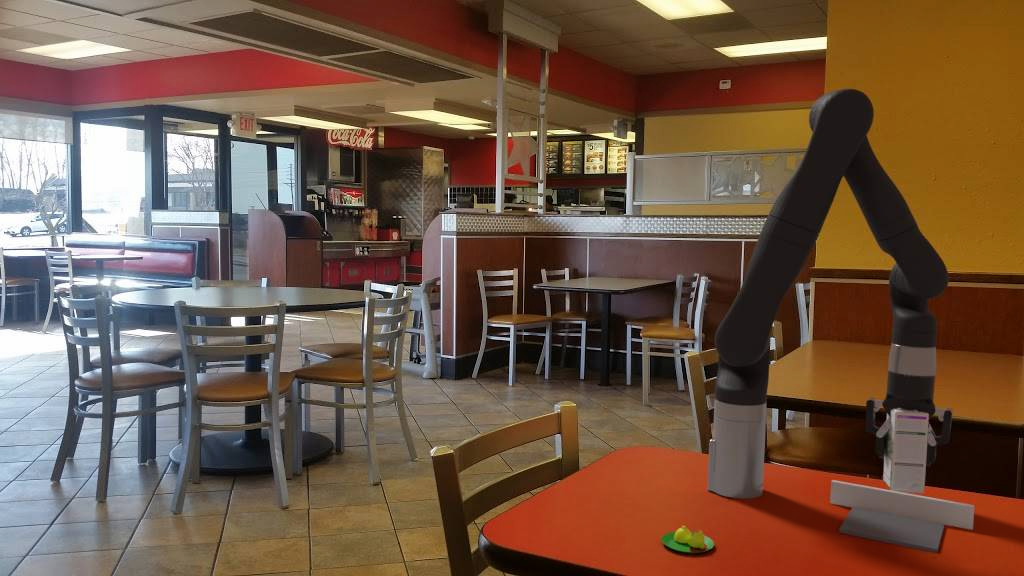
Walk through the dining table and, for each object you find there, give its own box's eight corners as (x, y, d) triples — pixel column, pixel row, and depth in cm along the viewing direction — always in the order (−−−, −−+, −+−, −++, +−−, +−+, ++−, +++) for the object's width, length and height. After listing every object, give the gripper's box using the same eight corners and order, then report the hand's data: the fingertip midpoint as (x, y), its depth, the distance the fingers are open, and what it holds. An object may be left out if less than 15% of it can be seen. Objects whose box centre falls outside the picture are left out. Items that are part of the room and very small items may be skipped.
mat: (839, 532, 128) (839, 528, 128) (852, 510, 138) (852, 507, 138) (937, 553, 120) (937, 549, 120) (944, 528, 130) (944, 524, 130)
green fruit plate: (723, 544, 123) (723, 527, 123) (698, 560, 117) (699, 542, 117) (677, 531, 129) (677, 514, 128) (651, 545, 122) (651, 528, 122)
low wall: (830, 503, 141) (831, 481, 141) (831, 501, 142) (832, 479, 142) (972, 530, 130) (974, 507, 129) (972, 529, 130) (974, 505, 130)
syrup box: (925, 494, 139) (931, 413, 138) (889, 490, 141) (895, 410, 139) (915, 483, 145) (921, 405, 144) (880, 480, 146) (886, 403, 145)
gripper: (864, 368, 142) (858, 458, 143) (956, 378, 134) (948, 474, 135) (870, 362, 148) (864, 449, 149) (959, 372, 140) (951, 463, 142)
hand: (904, 460), depth 142 cm, fingers closed on syrup box, 7 cm apart
